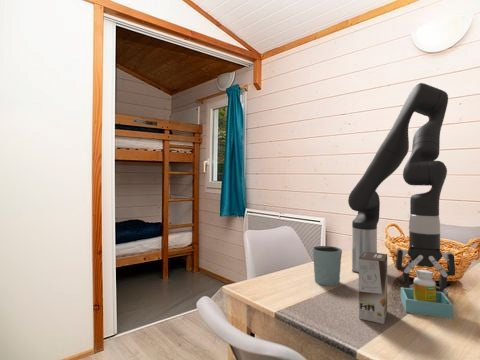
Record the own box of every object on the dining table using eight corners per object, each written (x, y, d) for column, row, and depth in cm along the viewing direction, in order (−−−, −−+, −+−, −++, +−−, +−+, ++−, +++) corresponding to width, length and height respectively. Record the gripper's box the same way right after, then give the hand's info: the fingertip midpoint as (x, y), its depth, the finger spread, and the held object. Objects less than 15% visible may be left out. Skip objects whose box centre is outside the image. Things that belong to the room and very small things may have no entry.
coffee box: (385, 324, 75) (385, 261, 75) (358, 318, 78) (358, 258, 78) (387, 311, 83) (387, 253, 83) (363, 306, 86) (363, 250, 86)
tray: (405, 312, 82) (405, 299, 82) (400, 298, 92) (400, 287, 92) (453, 318, 78) (453, 305, 78) (442, 304, 88) (442, 292, 88)
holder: (413, 299, 91) (413, 292, 91) (407, 287, 101) (407, 282, 101) (451, 304, 87) (451, 297, 87) (442, 291, 97) (442, 285, 97)
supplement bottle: (428, 311, 81) (428, 275, 81) (409, 304, 86) (409, 270, 86) (440, 307, 84) (439, 272, 84) (420, 300, 89) (420, 267, 89)
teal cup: (310, 284, 104) (310, 250, 104) (314, 275, 114) (314, 244, 114) (341, 288, 101) (341, 252, 101) (342, 279, 110) (342, 246, 110)
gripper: (398, 231, 84) (398, 288, 84) (458, 234, 79) (458, 295, 79) (394, 227, 91) (394, 280, 91) (450, 230, 86) (450, 286, 86)
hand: (424, 287), depth 85 cm, fingers open, 8 cm apart
